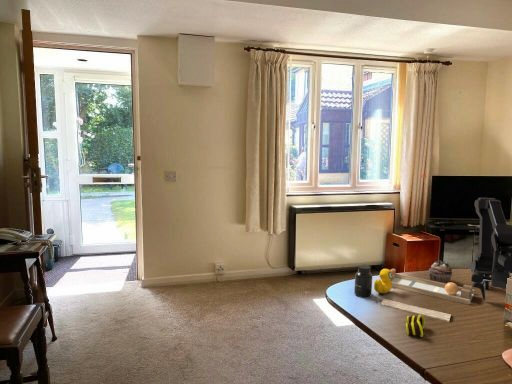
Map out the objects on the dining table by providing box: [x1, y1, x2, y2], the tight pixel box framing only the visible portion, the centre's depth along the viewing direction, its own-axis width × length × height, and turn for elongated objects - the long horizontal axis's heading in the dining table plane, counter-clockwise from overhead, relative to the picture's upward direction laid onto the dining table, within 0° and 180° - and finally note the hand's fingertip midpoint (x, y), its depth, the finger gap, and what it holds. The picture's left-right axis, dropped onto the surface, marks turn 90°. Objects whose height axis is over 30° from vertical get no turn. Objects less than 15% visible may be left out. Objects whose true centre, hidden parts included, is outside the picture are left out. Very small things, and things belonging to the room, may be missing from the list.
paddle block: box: [461, 284, 473, 299], centre depth 148 cm, size 8×3×4 cm, turn 143°
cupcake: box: [428, 259, 453, 284], centre depth 166 cm, size 10×10×10 cm
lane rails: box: [389, 268, 475, 305], centre depth 157 cm, size 14×34×4 cm, turn 53°
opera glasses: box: [405, 315, 426, 338], centre depth 120 cm, size 10×5×5 cm, turn 152°
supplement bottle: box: [353, 264, 373, 299], centre depth 150 cm, size 7×7×12 cm
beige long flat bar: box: [380, 298, 452, 323], centre depth 137 cm, size 24×7×2 cm, turn 55°
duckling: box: [373, 268, 394, 294], centre depth 153 cm, size 11×5×10 cm, turn 125°
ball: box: [445, 281, 458, 295], centre depth 151 cm, size 5×5×5 cm
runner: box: [391, 278, 475, 303], centre depth 156 cm, size 12×32×1 cm, turn 53°
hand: (498, 302), depth 141 cm, fingers open, 9 cm apart
